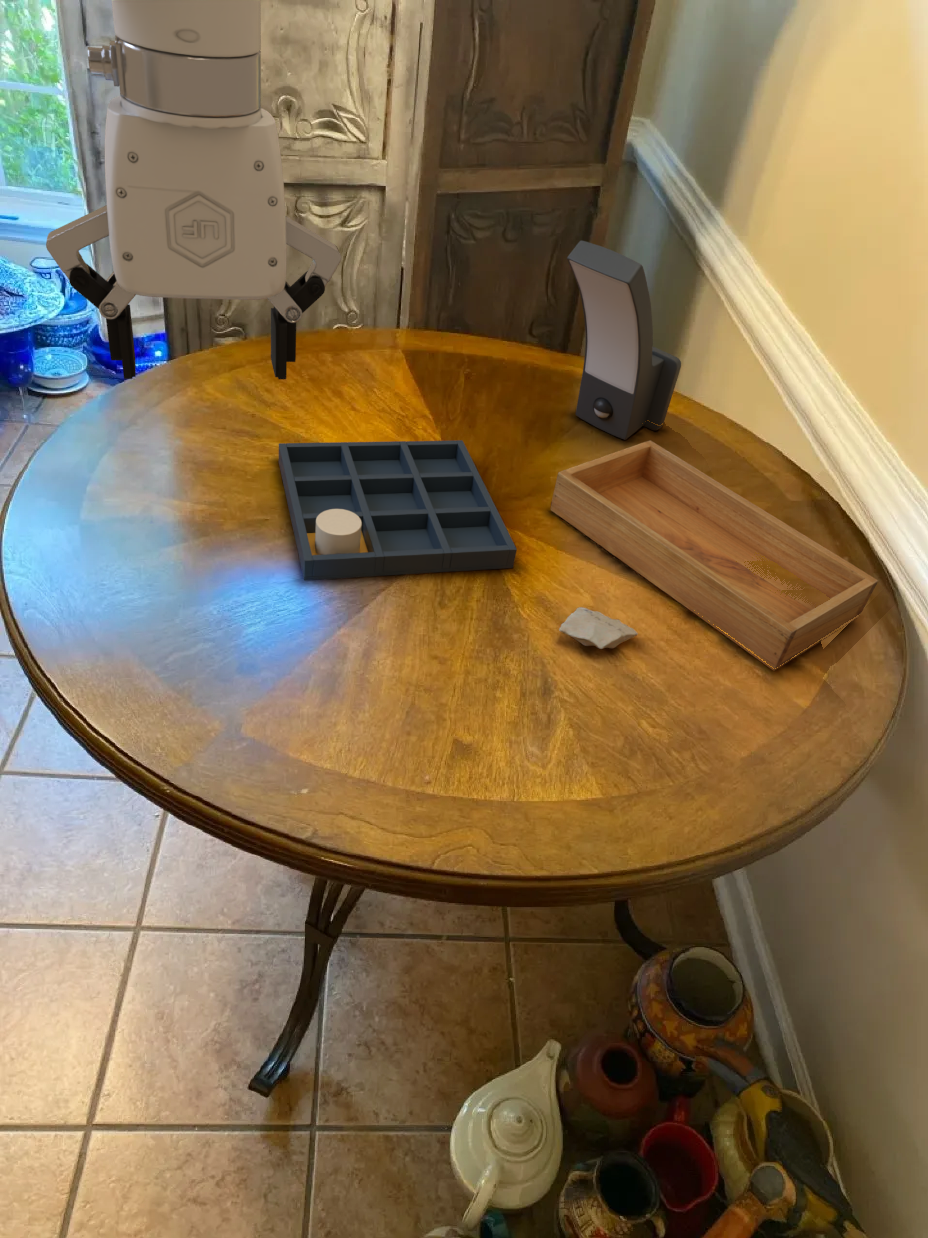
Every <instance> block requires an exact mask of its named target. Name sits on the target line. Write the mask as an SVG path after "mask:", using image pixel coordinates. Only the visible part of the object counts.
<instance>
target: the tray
mask: <svg viewBox="0 0 928 1238" xmlns="http://www.w3.org/2000/svg"><path fill="white" fill-rule="evenodd" d="M550 511H551V512H553V513H554V514H555V515H557V516H558V517H560V518H562V519H563V520H564V521H565V522H567V523H568V524H569V525H571V526H572V527H574V528H575V529H577V530H578V531H579V532H580V533H582V534H584V536H586V537H588V538H589V539H591V540H592V541H593V542H595V543H596V544H598V546H601V547H602V548H603V549H604V550H606V551H607V552H609V553H610V554H611V555H613V556H614V557H616V558H617V559H618V560H620V561H621V562H622V563H624V564H625V565H626V566H628V567H629V568H631V569H632V570H633V571H634V572H636V573H637V574H639V575H640V576H642V577H643V578H644V579H646V580H647V581H649V582H650V583H652V584H653V585H654V586H656V587H657V588H658V589H660V590H661V591H663V592H664V593H665V594H667V595H668V596H669V597H670V598H672V599H674V601H677V603H679V604H681V605H682V606H684V607H685V608H687V610H689V611H690V612H692V613H693V614H695V616H698V617H699V618H700V619H701V620H703V621H704V622H705V623H707V624H708V625H709V626H711V627H713V628H714V629H715V630H717V631H718V632H719V633H720V634H722V635H724V636H725V637H726V638H727V639H729V640H730V641H732V642H733V643H734V644H736V645H737V646H739V647H740V648H741V649H743V650H744V651H746V652H747V653H748V654H750V656H752V657H754V658H755V659H756V660H758V661H759V662H760V663H762V664H763V665H764V666H766V667H768V668H769V669H770V670H771V671H776V670H778V669H779V668H781V667H783V666H784V665H786V664H788V663H789V662H790V661H792V660H794V659H796V658H797V657H798V656H800V655H802V654H804V653H806V652H807V651H808V650H810V649H811V648H813V647H814V646H816V645H818V644H819V643H821V642H823V641H824V640H826V639H827V638H828V637H831V635H833V634H835V633H837V632H838V631H839V630H841V629H843V628H844V627H846V626H847V625H849V624H850V623H852V622H854V621H855V620H857V619H858V618H856V619H854V620H853V621H851V622H850V623H848V624H846V625H845V626H843V627H842V628H840V629H839V630H837V631H835V632H834V633H832V634H831V635H829V636H828V637H826V638H824V639H823V640H821V641H820V642H818V643H816V644H815V645H813V646H812V647H810V648H809V649H807V650H805V651H804V652H802V653H801V654H799V655H797V654H798V653H800V652H801V651H803V650H804V649H806V648H808V647H809V646H810V645H812V644H814V643H815V642H817V641H818V640H820V639H821V638H823V637H825V636H826V635H828V634H829V633H831V632H832V631H834V630H835V629H837V628H839V627H840V626H841V625H843V624H844V623H846V622H848V621H849V620H851V619H853V618H854V617H856V616H857V615H859V614H860V615H861V613H862V612H863V611H864V609H865V607H866V606H867V604H868V602H869V600H870V597H871V596H872V594H873V592H874V590H875V588H876V586H877V585H878V582H879V580H878V579H876V578H875V577H873V576H872V575H870V574H869V573H867V572H865V571H864V570H862V569H861V568H858V567H857V566H856V565H854V564H852V563H851V562H849V561H847V560H846V559H844V558H843V557H841V556H839V555H838V554H836V553H835V552H833V551H831V550H829V549H828V548H826V547H824V546H823V545H821V544H820V543H818V542H817V541H814V540H813V539H812V538H810V537H808V536H806V534H805V535H804V534H803V533H802V532H800V531H798V530H796V529H795V528H794V527H792V526H790V525H788V524H787V523H785V522H784V521H782V520H780V519H779V518H777V517H776V516H774V515H772V514H771V513H770V512H767V511H766V510H764V509H763V508H761V507H759V506H758V505H756V504H754V503H753V502H751V501H750V500H748V499H746V498H744V497H743V496H741V495H739V494H738V493H736V492H735V491H733V490H732V489H730V488H728V487H726V486H725V485H724V484H722V483H720V482H718V481H717V480H715V479H713V478H712V477H711V476H709V475H707V474H706V473H704V472H702V471H701V470H699V469H698V468H696V467H695V466H693V465H691V464H690V463H689V462H686V461H684V460H683V459H682V458H680V457H679V456H676V455H675V454H673V453H671V452H670V451H668V450H667V449H665V448H664V447H662V446H660V445H659V444H657V443H655V442H654V441H652V440H647V441H644V442H641V443H638V444H635V445H632V446H629V447H627V448H626V447H625V448H624V449H621V450H618V451H615V452H612V453H610V454H606V455H604V456H600V457H598V458H594V459H592V460H589V461H587V462H584V463H580V464H579V465H575V466H571V467H570V468H567V469H563V470H561V471H558V473H557V477H556V481H555V486H554V490H553V494H552V498H551V504H550ZM755 552H756V553H757V554H756V553H755ZM758 553H759V554H758ZM754 554H755V555H754ZM760 555H761V556H765V558H767V560H768V559H769V560H770V561H773V562H775V563H777V564H778V565H779V566H781V567H782V568H784V569H786V570H788V571H789V572H791V573H793V574H794V575H796V576H797V577H798V578H800V579H801V580H803V581H804V582H806V583H807V584H809V585H811V586H812V587H814V588H816V589H817V590H819V591H821V592H822V593H824V594H826V596H827V597H829V598H830V600H828V601H826V602H824V603H823V604H821V605H818V606H817V607H816V608H815V606H816V605H815V604H816V603H815V604H814V605H815V606H814V605H813V604H811V603H812V602H811V603H810V602H809V603H810V604H811V605H810V604H809V603H807V602H808V601H807V600H808V599H807V600H806V601H807V602H806V601H805V599H804V598H805V597H806V596H805V597H804V598H803V597H802V598H803V599H804V600H803V599H802V598H801V599H799V598H800V597H801V596H800V595H801V594H802V593H801V594H800V595H799V596H800V597H799V596H798V597H799V598H798V597H797V596H795V595H794V596H795V597H797V598H796V599H795V600H794V598H795V597H794V596H793V597H792V596H791V594H792V593H791V594H790V593H789V594H790V595H789V594H788V595H787V596H786V594H785V593H786V592H787V591H786V592H785V593H784V592H783V593H782V594H781V591H782V590H793V589H792V588H793V587H794V586H793V587H791V586H792V584H790V585H789V586H788V585H787V584H788V583H789V582H790V581H789V582H788V583H787V584H786V582H785V581H784V580H785V579H784V580H783V581H784V582H785V583H784V582H783V581H782V582H783V583H784V584H783V583H782V582H781V581H780V579H779V578H778V577H777V576H776V577H777V578H778V579H777V580H776V579H775V578H776V577H775V578H774V577H772V576H771V575H770V576H771V577H772V578H771V577H770V576H769V575H768V574H769V573H770V572H769V570H767V571H768V572H769V573H768V572H767V573H768V574H767V575H768V576H766V575H765V574H764V573H763V572H764V571H763V570H762V569H761V568H760V567H759V566H758V565H757V566H758V567H759V568H760V569H761V570H762V571H763V572H762V571H761V570H760V569H759V568H758V569H759V570H760V571H761V572H762V573H763V574H764V575H765V576H766V577H767V578H766V577H765V576H764V575H763V574H762V573H761V572H760V571H759V570H758V569H757V568H756V569H757V570H758V571H759V572H760V573H761V574H762V575H763V576H762V575H761V574H760V573H759V572H758V571H756V569H754V567H755V566H756V565H755V566H754V567H752V565H753V564H754V563H753V564H752V565H751V564H749V562H750V561H751V562H752V561H757V560H758V561H759V560H760V561H762V560H761V559H762V558H763V559H764V557H762V558H761V556H760ZM756 556H757V557H756ZM758 556H759V557H760V558H761V559H760V558H759V557H758ZM752 557H753V558H752ZM757 558H758V559H757ZM764 560H765V559H764ZM764 560H763V561H764ZM769 560H768V561H769ZM736 561H737V562H736ZM745 561H746V562H745ZM747 561H749V562H747ZM765 561H766V560H765ZM744 562H745V563H744ZM751 562H750V563H751ZM748 564H749V565H748ZM745 565H746V566H745ZM761 565H762V564H761ZM750 566H751V567H750ZM757 566H756V567H757ZM767 566H768V565H767ZM747 567H748V568H747ZM749 567H750V568H749ZM752 568H753V569H752ZM762 568H763V567H762ZM767 568H768V567H767ZM769 568H770V567H769ZM749 569H750V570H749ZM751 569H752V570H751ZM754 570H755V571H756V572H755V571H754ZM764 570H765V569H764ZM753 571H754V572H753ZM752 572H753V573H752ZM757 573H758V574H757ZM754 574H755V575H754ZM770 574H771V573H770ZM775 574H776V573H775ZM760 575H761V576H762V577H761V576H760ZM764 577H765V578H764ZM769 577H770V578H771V579H770V578H769ZM763 578H764V579H763ZM768 578H769V579H768ZM774 579H775V580H776V581H775V580H774ZM781 583H782V584H783V585H782V584H781ZM797 584H798V583H797ZM797 584H796V586H797ZM787 586H788V587H787ZM796 586H795V587H796ZM799 586H800V585H799ZM799 586H798V587H796V588H795V587H794V588H795V589H796V590H798V589H799V588H800V587H801V586H800V587H799ZM790 587H791V588H790ZM787 588H788V589H787ZM789 588H790V589H789ZM797 588H798V589H797ZM804 588H805V587H804ZM804 588H803V589H804ZM795 589H794V590H795ZM803 589H801V588H800V589H799V590H803ZM770 590H771V591H770ZM777 590H778V591H777ZM779 590H780V591H779ZM775 592H776V593H775ZM780 594H781V595H780ZM796 594H797V593H796ZM785 596H786V597H785ZM791 597H792V598H791ZM798 599H799V600H798ZM802 600H803V601H802ZM804 601H805V602H806V603H805V602H804ZM812 605H813V606H812ZM694 610H695V611H694ZM698 613H699V614H698ZM860 615H859V616H860ZM702 616H703V617H702ZM708 620H709V621H710V622H709V621H708ZM713 624H714V625H713ZM716 626H717V627H719V628H720V629H721V630H723V631H724V632H726V633H728V635H730V636H731V637H733V638H735V640H737V641H738V642H740V643H741V644H743V645H744V646H745V647H746V648H748V649H750V650H751V651H753V652H754V654H756V655H757V656H759V657H760V658H761V659H763V661H766V663H767V664H769V665H770V666H772V667H773V668H774V669H773V668H772V667H770V666H769V665H767V664H766V663H765V662H763V661H762V660H761V659H759V658H758V657H757V656H755V655H754V654H752V653H751V652H750V651H748V650H747V649H746V648H744V647H743V646H742V645H740V644H739V643H738V642H736V641H735V640H734V639H732V638H731V637H730V636H728V635H727V634H725V633H724V632H723V631H721V630H720V629H719V628H717V627H716ZM795 655H797V656H796V657H794V656H795ZM792 657H794V658H792ZM791 658H792V659H791ZM790 659H791V660H790ZM788 660H789V661H788ZM786 661H788V662H786ZM785 662H786V663H785ZM783 663H784V664H783ZM782 664H783V665H782ZM780 665H781V666H780ZM777 667H778V668H777ZM775 668H776V669H775Z"/></svg>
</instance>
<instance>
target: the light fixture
mask: <svg viewBox="0 0 928 1238" xmlns="http://www.w3.org/2000/svg"><path fill="white" fill-rule="evenodd" d="M566 261H567V263H568V264H569V265H568V266H569V267H570V269H571V272H572V274H573V277H574V279H575V282H576V286H577V287H578V291H579V296H580V300H581V306H582V311H583V312H582V313H583V319H584V320H583V321H584V329H585V330H584V332H585V348H584V349H585V350H584V360H583V368H582V374H581V379H580V380H581V381H580V385H579V392H578V398H577V403H576V407H575V408H576V409H575V416H576V417H578V418H579V419H581V420H582V421H584V422H586V423H588V424H589V425H591V426H593V427H595V428H597V429H599V430H600V431H603V432H605V433H607V434H609V435H612V436H614V437H616V438H617V439H622V440H625V441H626V440H627V439H628V438H630V437H631V436H633V435H634V434H635V433H636V432H638V431H639V429H641V428H643V427H644V428H647V429H649V430H651V431H658V430H659V429H661V428H663V425H664V423H665V420H666V417H667V414H668V410H669V408H670V405H671V401H672V398H673V395H674V391H675V388H676V385H677V381H678V378H679V375H680V372H681V368H682V361H681V359H680V358H678V357H677V356H675V355H673V354H671V353H669V352H666V351H664V350H662V349H660V348H658V347H655V346H654V330H653V327H654V326H653V314H652V303H651V296H650V291H649V287H648V282H647V277H646V273H645V269H644V266H643V265H642V264H641V263H639V262H637V261H635V260H634V259H632V258H629V257H628V256H625V254H624V255H623V254H621V253H619V252H616V251H614V250H612V249H609V248H606V247H604V246H601V245H599V244H595V243H591V242H590V241H586V240H579V241H578V242H577V244H576V245H575V246H574V247H573V249H572V250H571V252H570V253H569V254H568V256H567V257H566ZM647 420H649V421H650V422H649V421H647ZM645 421H646V422H645ZM651 422H653V423H655V424H658V425H661V424H662V423H663V425H661V426H657V425H655V424H653V423H651ZM642 423H643V424H642Z"/></svg>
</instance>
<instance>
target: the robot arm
mask: <svg viewBox="0 0 928 1238" xmlns="http://www.w3.org/2000/svg"><path fill="white" fill-rule="evenodd" d="M261 8H262V7H261V0H111V9H112V21H113V29H114V31H113V32H114V34H115V37H114V40H110V41H109V45H103V44H102V47H95V46H94V47H93V46H87V59H88V69H89V73H90V76H91V77H100V78H104V79H105V81H113V86H114V87H119V95H116V96H114V97H113V98H111V99H110V100H109V103H108V104H107V109H106V117H105V127H104V130H105V131H104V175H105V177H104V178H105V196H106V197H105V198H106V204H105V205H104V206H101V207H99V208H97V209H95V210H93V211H91V212H89V213H86V214H85V215H82V216H81V217H79V218H77V219H74V220H72V221H70V222H68V223H66V224H64V225H62V226H60V227H58V228H56V229H53V230H51V231H50V232H48V234H47V237H46V242H45V248H46V250H47V252H48V253H49V255H50V256H51V257H52V259H53V261H54V262H55V263H56V265H57V266H58V267H59V268H60V270H61V272H62V273H64V275H65V276H66V279H68V282H69V284H70V286H71V287H72V288H73V289H74V290H75V291H76V292H77V293H79V294H80V295H81V296H82V297H83V298H85V299H86V300H87V301H88V302H89V303H91V304H92V305H93V306H94V307H95V308H97V309H98V312H99V314H100V315H101V316H102V317H103V318H104V319H105V324H106V330H107V331H106V333H107V339H108V348H109V355H110V360H111V361H115V362H116V361H119V362H120V361H121V365H122V373H123V379H124V380H133V378H136V375H137V373H136V372H137V371H136V369H137V368H136V349H135V340H134V333H133V332H134V331H133V320H132V312H131V305H130V302H131V301H132V300H133V299H134V298H135V297H136V295H137V296H140V297H141V296H142V297H148V298H165V299H167V298H168V299H195V300H197V299H199V300H200V299H201V300H232V301H233V300H238V301H239V300H241V301H242V300H243V301H255V300H268V301H269V303H270V304H271V305H272V306H273V307H271V308H270V361H271V366H272V370H273V374H274V378H277V379H278V380H287V369H288V368H287V365H288V364H287V363H296V359H297V323H298V322H300V321H301V320H302V317H303V313H305V312H306V311H307V310H308V309H309V308H310V307H312V305H314V303H315V302H317V301H318V300H319V299H320V298H321V297H322V296H323V295H324V293H325V291H326V287H327V285H328V283H329V282H330V281H331V279H332V277H333V276H334V274H335V272H336V270H337V268H338V267H339V266H340V264H341V262H342V255H341V252H340V250H339V248H338V246H337V245H336V244H335V243H333V242H332V241H329V240H328V239H326V238H325V237H323V236H321V235H319V234H318V233H316V232H314V231H313V230H311V229H309V228H307V227H306V226H304V225H302V224H300V223H299V222H297V221H296V220H293V218H290V217H289V216H287V215H286V201H285V199H286V197H285V183H284V182H285V181H284V172H283V171H284V169H283V161H282V160H283V159H282V153H281V146H280V139H279V133H278V127H277V124H276V119H275V118H274V116H273V115H272V114H271V113H270V112H269V111H267V110H266V109H265V108H262V51H261V50H262V35H261V33H262V32H261V31H262V29H261V27H262V25H261V24H262V23H261V22H262V21H261V19H262V18H261V14H262V13H261ZM105 238H108V240H109V248H110V256H111V263H112V270H113V271H112V272H111V274H109V276H108V277H107V278H106V279H105V278H104V277H103V276H102V275H101V274H100V273H98V272H97V271H96V270H95V269H94V268H93V267H92V266H90V265H89V264H88V263H86V261H85V260H84V258H83V256H82V255H81V253H80V251H81V250H82V249H84V248H86V247H88V246H91V245H93V244H95V243H97V242H99V241H102V240H104V239H105ZM287 246H289V247H291V248H292V249H294V250H296V251H297V252H300V253H301V254H303V255H305V256H307V257H309V258H310V259H311V260H312V261H311V263H310V266H309V268H308V270H307V271H305V272H304V273H303V274H302V275H301V276H300V277H299V278H298V279H297V280H296V281H295V282H293V284H291V285H290V284H289V283H288V281H287V265H288V261H287V258H288V257H287V256H288V255H287V253H288V252H287V248H288V247H287Z"/></svg>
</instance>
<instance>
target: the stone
mask: <svg viewBox="0 0 928 1238" xmlns="http://www.w3.org/2000/svg"><path fill="white" fill-rule="evenodd" d="M558 631H559V632H560V633H563V634H565V635H567V636H569V637H571V638H572V639H574V640H575V641H577V642H578V643H580V644H582V645H583V646H584V647H591V646H593V647H594V646H595V647H596V648H597V649H600V650H602V649H605V648H607V649H608V648H609V649H614V648H617V646H619V645H621V644H622V643H624V642H627V641H628V640H630V639H633V638H634V637H637V636H638V635H639V633H638V632H637V631H636V630H635V628H633V627H631V626H629V625H628V624H626V623H623V622H622V621H621V620H620V619H619V618H618V619H617V618H616V619H615V618H611V617H610V616H608V615H605V614H603V613H602V612H600V611H597V610H591V609H589V608H587V607H584V606H579V607H577V608H576V609H575V610H574V612H571V613H570V614H569V615H568V616H567V618H566V620H564V621H563V622H562V623H561V624H560V627H559V628H558Z"/></svg>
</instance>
